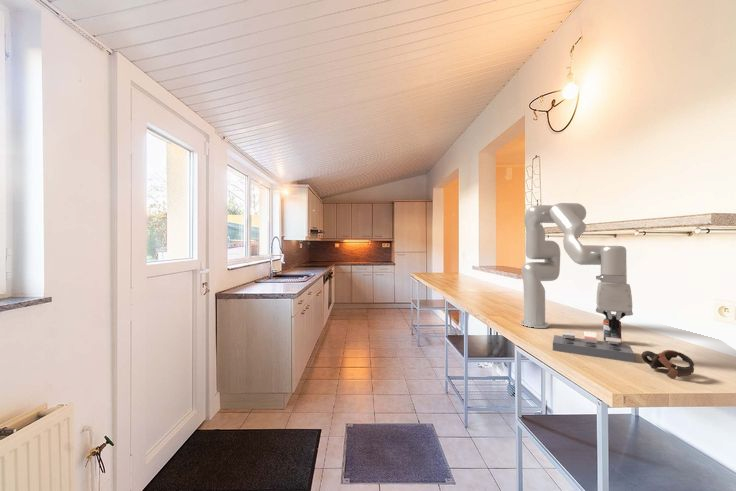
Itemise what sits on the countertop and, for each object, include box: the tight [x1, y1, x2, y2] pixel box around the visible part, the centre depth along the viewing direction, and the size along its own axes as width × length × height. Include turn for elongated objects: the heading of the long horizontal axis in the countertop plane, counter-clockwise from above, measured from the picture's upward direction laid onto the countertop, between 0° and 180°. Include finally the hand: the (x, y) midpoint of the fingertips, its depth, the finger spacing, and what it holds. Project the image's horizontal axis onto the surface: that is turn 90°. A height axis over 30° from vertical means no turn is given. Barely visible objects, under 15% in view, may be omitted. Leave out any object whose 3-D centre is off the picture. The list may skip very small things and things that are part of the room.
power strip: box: [552, 334, 635, 363], centre depth 120 cm, size 12×24×3 cm, turn 57°
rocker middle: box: [583, 331, 598, 343], centre depth 123 cm, size 6×4×2 cm, turn 147°
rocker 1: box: [561, 330, 576, 339], centre depth 126 cm, size 6×4×2 cm, turn 147°
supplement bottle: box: [602, 313, 623, 344], centre depth 133 cm, size 6×6×11 cm
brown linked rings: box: [640, 349, 695, 380], centre depth 99 cm, size 12×10×8 cm
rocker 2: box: [606, 337, 622, 345], centre depth 119 cm, size 6×4×2 cm, turn 147°
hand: (614, 330), depth 117 cm, fingers closed
